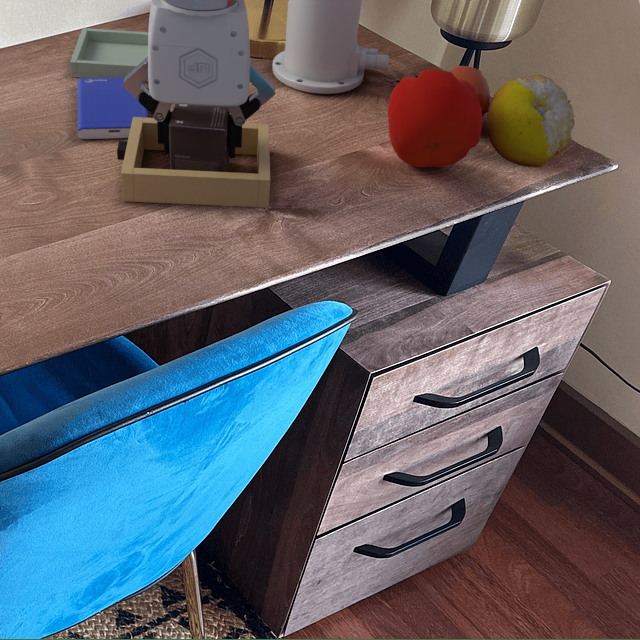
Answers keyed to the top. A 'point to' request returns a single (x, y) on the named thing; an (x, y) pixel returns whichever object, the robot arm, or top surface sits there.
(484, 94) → the tomato
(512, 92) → the fruit
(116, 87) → the hard drive
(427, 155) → the tomato
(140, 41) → the tray
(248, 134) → the tan rectangular bin
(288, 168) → the top surface
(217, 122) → the box
